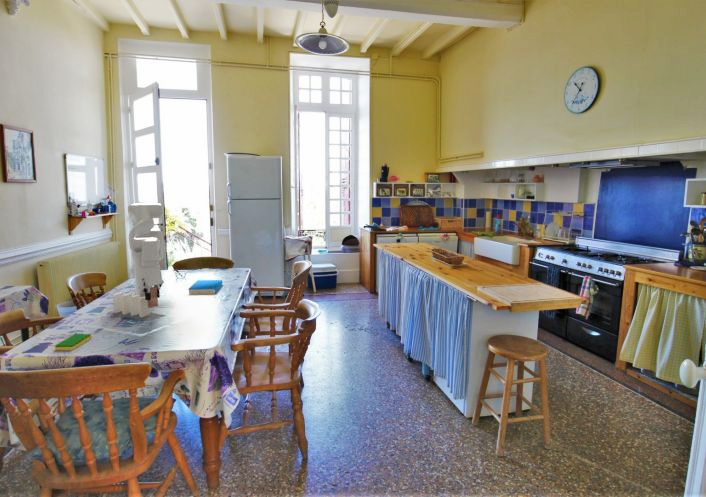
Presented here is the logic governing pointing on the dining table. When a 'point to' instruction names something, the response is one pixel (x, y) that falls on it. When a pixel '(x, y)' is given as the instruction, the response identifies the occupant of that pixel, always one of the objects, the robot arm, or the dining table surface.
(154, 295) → the domino
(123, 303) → the domino
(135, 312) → the domino
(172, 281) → the dining table surface
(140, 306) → the domino
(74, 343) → the dish sponge
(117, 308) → the domino
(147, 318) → the mat
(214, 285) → the book
